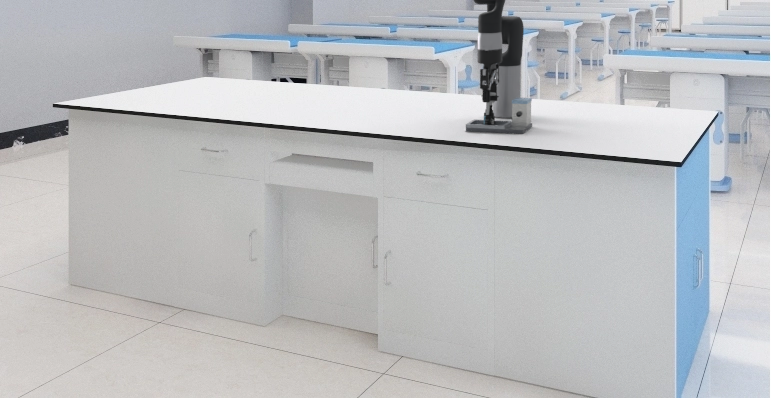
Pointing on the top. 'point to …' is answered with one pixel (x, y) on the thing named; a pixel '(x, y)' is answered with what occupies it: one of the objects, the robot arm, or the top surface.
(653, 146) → the top surface
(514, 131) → the base
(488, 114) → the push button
